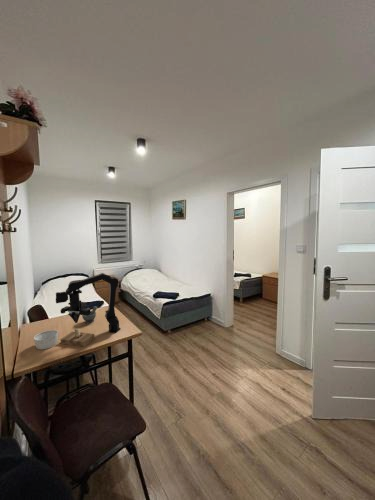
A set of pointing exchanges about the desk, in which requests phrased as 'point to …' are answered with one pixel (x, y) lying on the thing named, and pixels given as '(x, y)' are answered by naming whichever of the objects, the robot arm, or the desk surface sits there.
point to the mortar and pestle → (90, 316)
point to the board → (81, 341)
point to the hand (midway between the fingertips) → (76, 322)
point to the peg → (77, 333)
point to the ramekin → (46, 339)
